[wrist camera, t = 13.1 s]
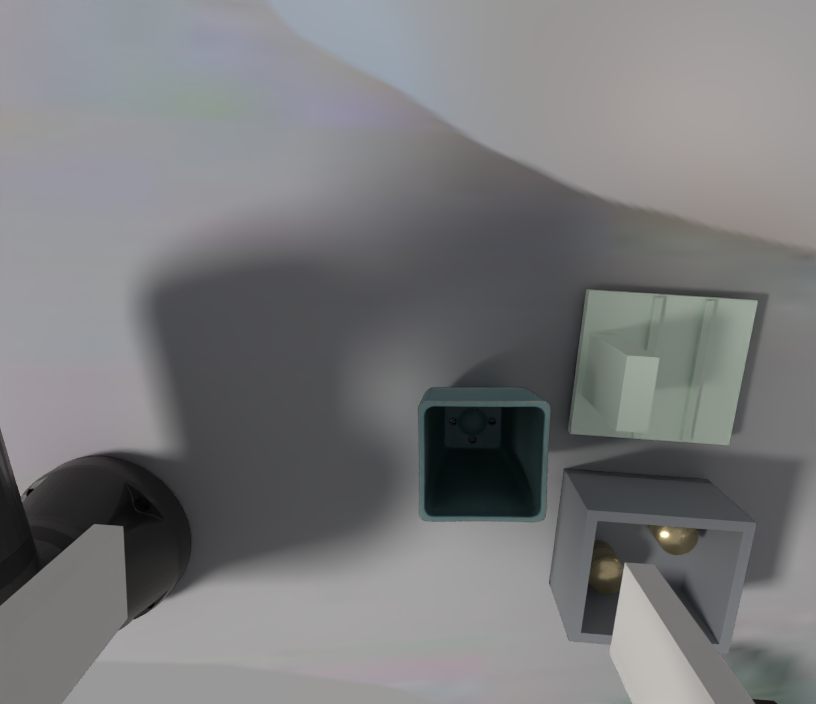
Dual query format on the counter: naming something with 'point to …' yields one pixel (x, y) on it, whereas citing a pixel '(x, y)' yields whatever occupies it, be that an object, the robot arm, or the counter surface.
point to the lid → (660, 366)
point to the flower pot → (483, 454)
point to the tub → (649, 548)
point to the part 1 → (605, 569)
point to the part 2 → (674, 538)
